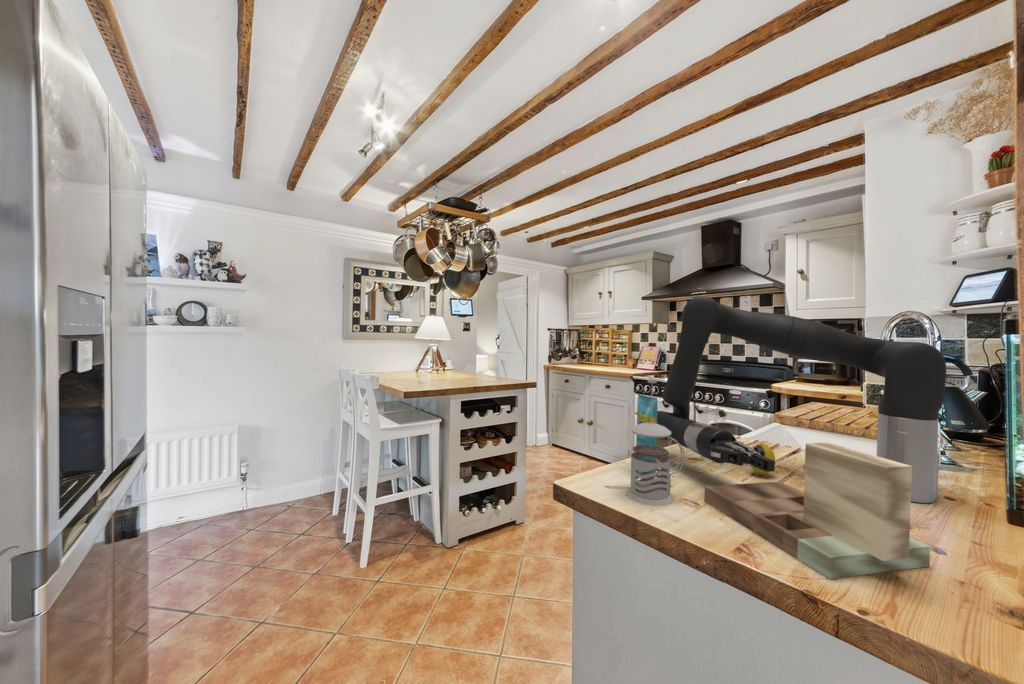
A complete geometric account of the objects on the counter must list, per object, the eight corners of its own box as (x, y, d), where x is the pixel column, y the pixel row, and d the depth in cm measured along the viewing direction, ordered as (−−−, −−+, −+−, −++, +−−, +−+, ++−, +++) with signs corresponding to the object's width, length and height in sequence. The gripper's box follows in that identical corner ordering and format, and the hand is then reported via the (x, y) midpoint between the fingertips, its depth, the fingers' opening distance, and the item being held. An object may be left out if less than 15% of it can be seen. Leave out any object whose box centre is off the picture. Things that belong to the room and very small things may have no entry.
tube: (627, 470, 98) (629, 393, 97) (643, 468, 100) (644, 392, 99) (648, 480, 91) (650, 398, 91) (665, 478, 93) (667, 397, 93)
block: (825, 518, 67) (827, 442, 67) (908, 558, 55) (912, 466, 55) (803, 520, 66) (805, 443, 66) (882, 561, 54) (886, 467, 54)
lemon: (779, 480, 93) (780, 447, 92) (753, 478, 94) (754, 445, 94) (768, 472, 98) (769, 440, 98) (744, 470, 99) (745, 439, 99)
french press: (621, 485, 88) (624, 374, 88) (675, 488, 87) (678, 375, 86) (630, 504, 78) (632, 379, 78) (690, 507, 77) (694, 380, 77)
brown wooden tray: (779, 495, 84) (779, 481, 84) (929, 566, 58) (930, 546, 58) (704, 500, 80) (704, 486, 80) (829, 578, 55) (830, 557, 55)
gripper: (684, 426, 91) (742, 448, 74) (733, 424, 93) (801, 445, 76) (683, 458, 91) (741, 487, 74) (732, 456, 94) (799, 483, 77)
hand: (771, 466), depth 75 cm, fingers closed
